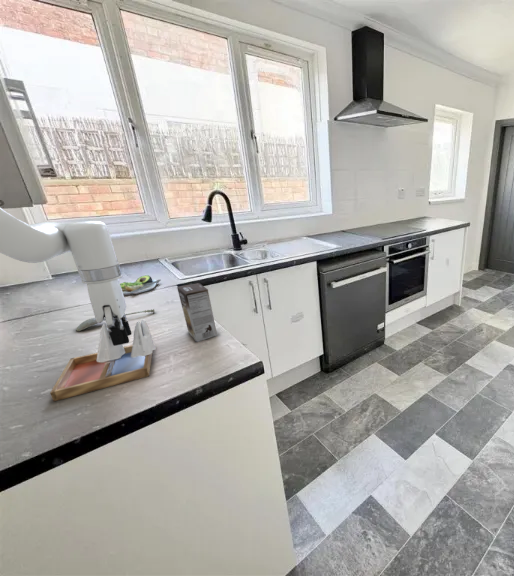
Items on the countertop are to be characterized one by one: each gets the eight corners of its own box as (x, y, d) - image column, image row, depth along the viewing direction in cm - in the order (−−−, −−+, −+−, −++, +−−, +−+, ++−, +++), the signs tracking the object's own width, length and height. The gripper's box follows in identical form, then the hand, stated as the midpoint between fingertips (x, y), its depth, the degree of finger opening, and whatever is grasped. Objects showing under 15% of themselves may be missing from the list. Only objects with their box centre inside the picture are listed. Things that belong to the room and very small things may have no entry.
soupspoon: (78, 328, 106) (76, 336, 102) (74, 319, 105) (72, 327, 100) (154, 309, 119) (156, 315, 115) (152, 301, 118) (153, 307, 113)
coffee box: (187, 332, 101) (176, 286, 96) (208, 326, 106) (199, 282, 100) (196, 342, 95) (184, 293, 90) (218, 335, 100) (208, 288, 94)
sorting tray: (53, 401, 70) (49, 392, 69) (73, 366, 84) (70, 358, 83) (149, 376, 79) (146, 368, 78) (153, 347, 93) (151, 340, 92)
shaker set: (98, 369, 78) (84, 329, 74) (101, 361, 81) (87, 323, 78) (156, 354, 85) (145, 317, 81) (156, 347, 88) (146, 312, 84)
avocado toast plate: (156, 293, 136) (153, 283, 135) (104, 300, 129) (101, 290, 127) (163, 281, 153) (160, 272, 151) (117, 286, 145) (114, 277, 144)
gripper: (88, 267, 80) (110, 331, 86) (70, 285, 66) (97, 359, 72) (125, 263, 83) (143, 324, 90) (115, 279, 70) (137, 349, 76)
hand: (122, 339), depth 81 cm, fingers closed on shaker set, 4 cm apart
